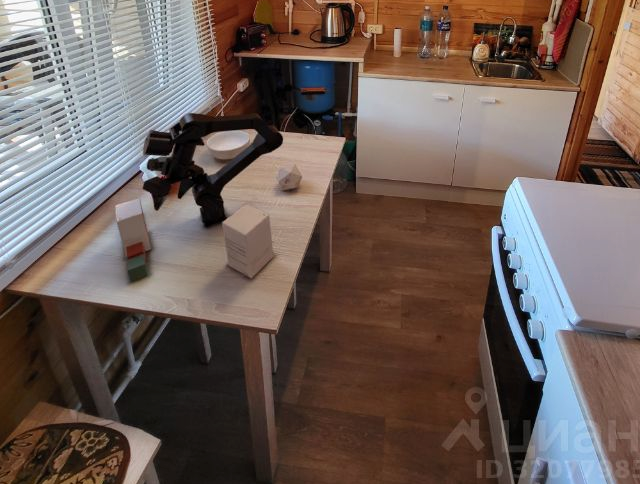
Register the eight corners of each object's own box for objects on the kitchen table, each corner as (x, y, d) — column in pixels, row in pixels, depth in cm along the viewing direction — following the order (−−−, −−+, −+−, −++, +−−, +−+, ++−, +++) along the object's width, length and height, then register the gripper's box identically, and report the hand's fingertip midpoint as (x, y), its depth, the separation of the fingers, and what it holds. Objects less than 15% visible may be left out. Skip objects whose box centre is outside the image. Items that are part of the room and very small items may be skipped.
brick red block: (145, 252, 109) (142, 241, 107) (146, 261, 105) (143, 250, 104) (129, 258, 107) (126, 247, 105) (129, 268, 103) (126, 256, 102)
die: (272, 188, 138) (273, 179, 130) (283, 166, 143) (284, 156, 135) (293, 197, 138) (295, 189, 129) (304, 175, 143) (306, 166, 135)
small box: (151, 249, 110) (142, 213, 105) (126, 259, 106) (115, 222, 102) (148, 232, 116) (139, 197, 111) (124, 240, 113) (114, 205, 108)
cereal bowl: (244, 166, 149) (242, 150, 147) (202, 165, 150) (199, 150, 147) (255, 144, 165) (254, 129, 163) (217, 143, 165) (215, 129, 163)
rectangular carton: (251, 244, 112) (246, 202, 107) (274, 256, 108) (270, 213, 102) (227, 265, 105) (220, 222, 99) (250, 279, 100) (245, 235, 95)
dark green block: (146, 265, 104) (143, 253, 103) (147, 275, 101) (144, 264, 100) (129, 271, 103) (126, 259, 101) (130, 282, 99) (127, 270, 98)
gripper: (182, 138, 121) (169, 182, 123) (134, 153, 103) (119, 204, 105) (211, 152, 118) (197, 197, 121) (167, 170, 100) (151, 221, 103)
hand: (168, 204), depth 112 cm, fingers open, 9 cm apart
